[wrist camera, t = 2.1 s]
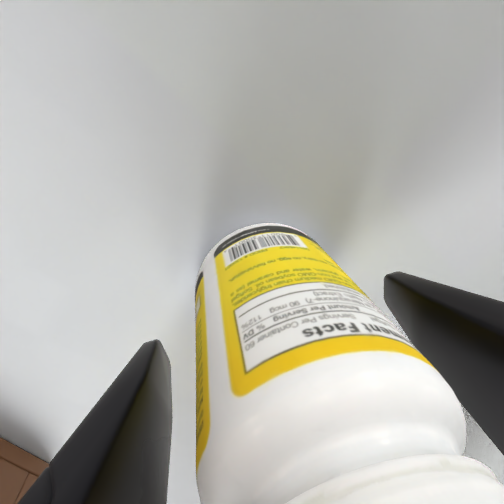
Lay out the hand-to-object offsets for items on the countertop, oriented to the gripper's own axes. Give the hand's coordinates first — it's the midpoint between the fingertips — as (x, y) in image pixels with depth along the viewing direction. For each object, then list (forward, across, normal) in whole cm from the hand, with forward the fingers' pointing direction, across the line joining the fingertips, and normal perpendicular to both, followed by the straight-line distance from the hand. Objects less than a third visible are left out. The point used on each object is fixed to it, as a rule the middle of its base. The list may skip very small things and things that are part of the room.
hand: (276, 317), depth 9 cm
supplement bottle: (+2, 0, 0) cm, 2 cm away
